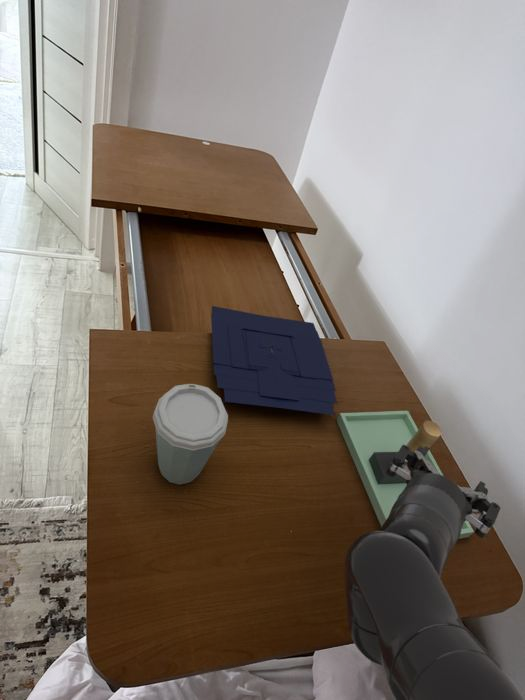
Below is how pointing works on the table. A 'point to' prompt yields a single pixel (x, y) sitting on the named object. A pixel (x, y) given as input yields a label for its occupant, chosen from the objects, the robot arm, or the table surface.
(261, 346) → the folded navy cloth
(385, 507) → the tray
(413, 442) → the wooden handled stamp
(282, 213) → the table surface
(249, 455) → the table surface
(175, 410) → the disposable coffee cup
